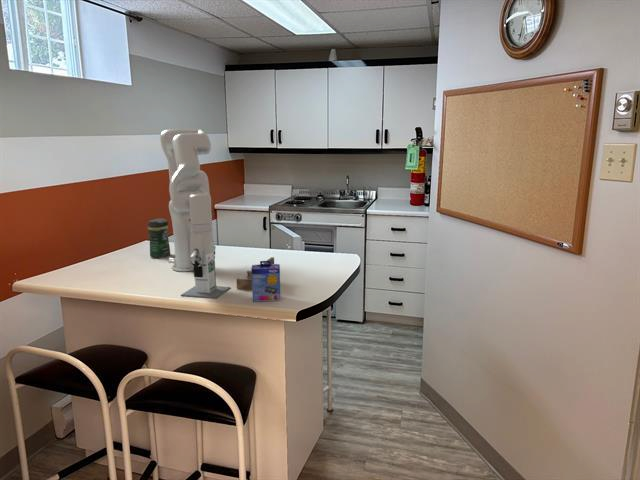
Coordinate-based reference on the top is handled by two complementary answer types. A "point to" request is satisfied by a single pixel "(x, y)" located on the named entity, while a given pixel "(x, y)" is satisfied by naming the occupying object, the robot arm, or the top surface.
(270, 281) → the ink cartridge box
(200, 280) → the syrup box
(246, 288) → the stair flight
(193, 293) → the grey mat
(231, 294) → the top surface
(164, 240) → the coffee jar
